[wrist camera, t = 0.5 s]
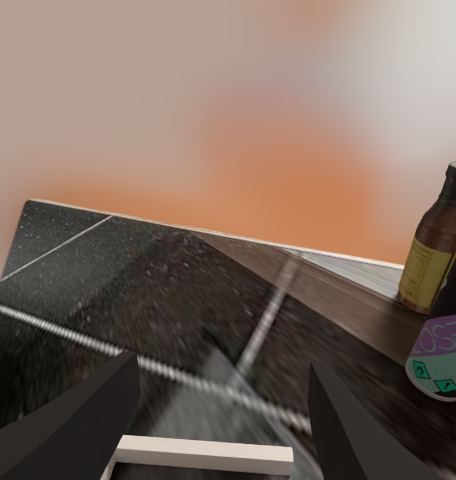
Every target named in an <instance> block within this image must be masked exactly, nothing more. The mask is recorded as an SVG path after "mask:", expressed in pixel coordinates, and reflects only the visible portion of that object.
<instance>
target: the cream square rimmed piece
mask: <svg viewBox="0 0 456 480" xmlns="http://www.w3.org/2000/svg"><path fill="white" fill-rule="evenodd" d="M115 462H125V463H138V464H150V465H163V466H175V467H188V468H200V469H213V470H225V471H238V472H250V473H263V474H275V475H287V476H290V475H291V471H292V466H293V452H292V447H278V446H264V445H251V444H237V443H224V442H210V441H196V440H183V439H169V438H156V437H142V436H128V435H123V436H122V438H121V440H120V442H119V444H118V446H117V448H116V450H115V452H114V454H113V456H112V458H111V460H110V462H109V464H108V465H107V467H106V469H105V471H104V473H103V475H102V477H101V479H100V480H109V479H110V477H111V474H112V471H113V468H114V465H115Z"/></svg>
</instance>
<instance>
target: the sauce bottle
mask: <svg viewBox="0 0 456 480" xmlns="http://www.w3.org/2000/svg"><path fill="white" fill-rule="evenodd" d="M455 258H456V161H454V162H451V163H450V164H449V166H448V169H447V171H446V180H445V183H444V186H443V188H442V191H441V193H440V195H439V198H438V200H437V201H436V202H435V203H434V204H433V206H432V207H431V208H430V209H429V210H428V211H427V212H426V213H425V214H424V216H423V218H422V219H421V221H420V223H419V225H418V227H417V229H416V232H415V236H414V239H413V242H412V245H411V248H410V252H409V254H408V257H407V260H406V264H405V267H404V270H403V273H402V276H401V279H400V282H399V286H398V288H399V290H398V298H399V300H400V301H401V302H402V303H403V305H404V306H406V307H407V308H408V309H410V310H412V311H415V312H418V313H421V314H424V315H429V313H430V311H431V308H432V306H433V304H434V302H435V300H436V298H437V296H438V294H439V291H440V289H441V287H442V285H443V283H444V281H445V279H446V277H447V275H448V272H449V270H450V268H451V266H452V264H453V262H454V260H455Z"/></svg>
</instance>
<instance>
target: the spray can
mask: <svg viewBox="0 0 456 480" xmlns="http://www.w3.org/2000/svg"><path fill="white" fill-rule="evenodd" d="M405 369H406V373H407V375H408V377H409V379H410V380H411V382H412V383H413V384H414V385H415V386H416V387H417V388H418V389H419V390H421V391H422V392H423V393H425V394H427V395H428V396H430V397H432V398H435V399H437V400H441V401H446V402H453V401H456V258H455V260H454V262H453V264H452V266H451V268H450V270H449V272H448V275H447V277H446V279H445V281H444V283H443V285H442V287H441V289H440V291H439V294H438V296H437V298H436V300H435V302H434V304H433V306H432V308H431V311H430V313H429V315H428V317H427V319H426V321H425V323H424V325H423V327H422V330H421V332H420V334H419V336H418V338H417V340H416V342H415V344H414V347H413V349H412V351H411V353H410V355H409V357H408V359H407V362H406V365H405Z"/></svg>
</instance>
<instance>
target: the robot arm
mask: <svg viewBox="0 0 456 480" xmlns="http://www.w3.org/2000/svg"><path fill="white" fill-rule="evenodd" d="M140 394H141V388H140V379H139V369H138V360H137V352H125V351H123V352H121V353H120V354H118V355H117V356H115V357H114V358H113V359H111V360H110V361H109V362H107V363H106V364H104V365H103V366H102V367H100V368H99V369H98V370H96V371H95V372H94V373H92V374H91V375H89V376H88V377H87V378H85V379H84V380H82V381H81V382H80V383H78V384H77V385H75V386H74V387H72V388H71V389H69V390H68V391H66V392H65V393H63V394H62V395H60V396H59V397H57V398H56V399H54V400H52V401H51V402H49V403H48V404H46V405H44V406H43V407H41V408H39V409H37V410H36V411H34V412H32V413H30V414H29V415H27V416H25V417H23V418H21V419H20V420H18V421H16V422H14V423H12V424H10V425H8V426H6V427H4V428H2V429H0V480H100V479H101V477H102V475H103V473H104V471H105V469H106V467H107V465H108V464H109V462H110V460H111V458H112V456H113V454H114V452H115V450H116V448H117V446H118V444H119V442H120V440H121V438H122V436H123V434H124V432H125V430H126V428H127V426H128V424H129V422H130V420H131V418H132V416H133V413H134V411H135V408H136V405H137V402H138V400H139V397H140ZM308 410H309V417H310V424H311V430H312V434H313V438H314V442H315V446H316V450H317V454H318V458H319V462H320V465H321V469H322V473H323V477H324V480H445V479H443V478H442V477H440V476H439V475H438V474H437V473H435V472H434V471H433V470H432V469H430V468H429V467H428V466H427V465H425V464H424V463H423V462H422V461H420V460H419V459H418V458H417V457H415V456H414V455H413V454H412V453H411V452H410V451H408V450H407V449H406V448H405V447H404V446H403V445H402V444H400V443H399V442H398V441H397V440H396V439H395V438H394V437H393V436H392V435H391V434H389V433H388V432H387V431H386V430H385V429H384V428H383V427H382V426H381V425H380V424H379V423H378V422H377V421H376V420H375V419H374V418H373V417H372V415H371V414H370V413H369V412H368V411H367V410H366V409H365V408H364V407H363V406H362V405H361V403H360V402H359V401H358V400H357V399H356V398H355V397H354V395H353V394H352V393H351V392H350V391H349V390H348V388H347V387H346V386H345V385H344V383H343V382H342V381H341V380H340V378H339V377H338V376H337V375H336V373H335V372H334V371H333V370H332V368H331V367H330V366H329V364H328V363H327V362H316V361H311V362H310V376H309V391H308Z"/></svg>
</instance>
